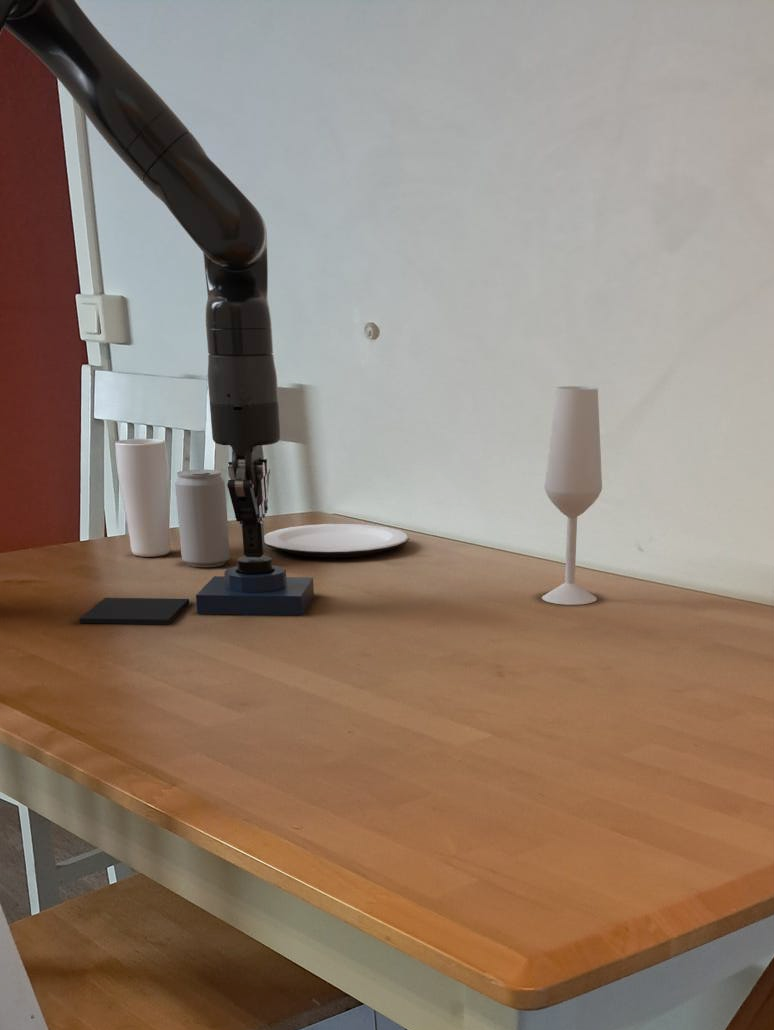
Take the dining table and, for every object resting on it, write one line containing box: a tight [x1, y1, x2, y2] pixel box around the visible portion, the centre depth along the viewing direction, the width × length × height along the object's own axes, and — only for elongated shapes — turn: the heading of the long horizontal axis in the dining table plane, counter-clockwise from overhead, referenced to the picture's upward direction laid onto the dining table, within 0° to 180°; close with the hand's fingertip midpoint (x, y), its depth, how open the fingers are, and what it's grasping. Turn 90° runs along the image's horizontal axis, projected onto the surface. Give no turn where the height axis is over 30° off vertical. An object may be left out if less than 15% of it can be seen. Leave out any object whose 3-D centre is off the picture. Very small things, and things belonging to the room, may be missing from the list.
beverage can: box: [174, 469, 231, 568], centre depth 169 cm, size 6×6×12 cm
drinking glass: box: [114, 438, 171, 558], centre depth 174 cm, size 7×7×15 cm
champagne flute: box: [541, 385, 603, 606], centre depth 149 cm, size 7×7×24 cm
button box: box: [195, 564, 315, 616], centre depth 149 cm, size 12×10×4 cm
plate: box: [264, 523, 410, 559], centre depth 181 cm, size 21×21×2 cm
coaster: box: [78, 597, 190, 625], centre depth 146 cm, size 10×10×1 cm
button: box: [236, 555, 273, 575], centre depth 148 cm, size 4×4×2 cm
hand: (254, 555), depth 148 cm, fingers closed
